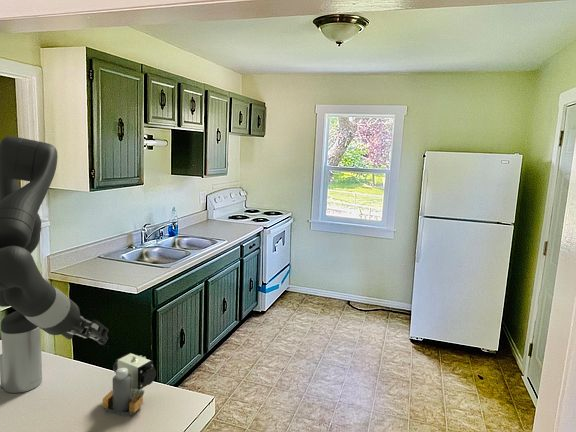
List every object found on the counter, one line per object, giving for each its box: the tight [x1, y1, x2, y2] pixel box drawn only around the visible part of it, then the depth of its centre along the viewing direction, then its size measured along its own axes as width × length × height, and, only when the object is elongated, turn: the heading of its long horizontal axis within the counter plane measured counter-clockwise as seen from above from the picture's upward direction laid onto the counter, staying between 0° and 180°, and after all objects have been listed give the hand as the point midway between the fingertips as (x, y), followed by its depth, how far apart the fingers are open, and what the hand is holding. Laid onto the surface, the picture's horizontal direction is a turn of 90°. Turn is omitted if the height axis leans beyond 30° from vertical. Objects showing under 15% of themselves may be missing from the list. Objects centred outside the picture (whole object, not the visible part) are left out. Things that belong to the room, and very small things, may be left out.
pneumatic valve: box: [112, 352, 157, 400], centre depth 114 cm, size 6×12×12 cm, turn 63°
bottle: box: [112, 368, 132, 411], centre depth 108 cm, size 5×5×10 cm
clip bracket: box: [102, 389, 144, 418], centre depth 109 cm, size 9×5×4 cm, turn 80°
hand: (88, 338), depth 96 cm, fingers open, 8 cm apart
